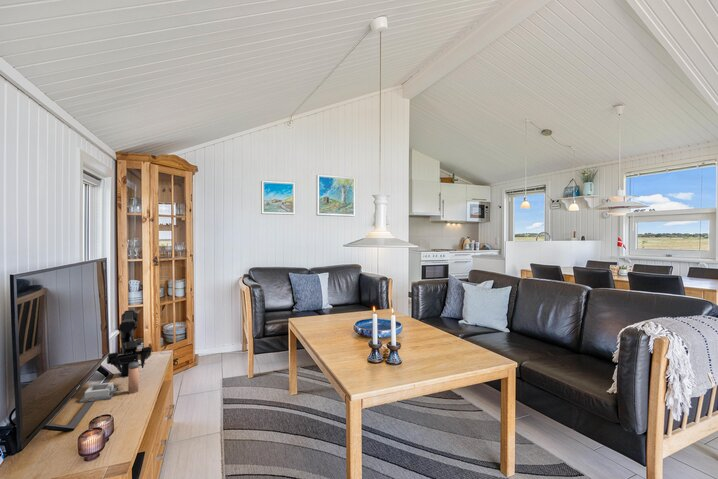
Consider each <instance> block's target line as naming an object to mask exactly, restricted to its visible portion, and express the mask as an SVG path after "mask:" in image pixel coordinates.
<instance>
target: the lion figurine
mask: <svg viewBox="0 0 718 479" xmlns="http://www.w3.org/2000/svg"><path fill="white" fill-rule="evenodd" d="M152 354H153V351H151V354H150V356H148V357H147V358H145V361H144V365H145V364H146V360H148V359H149V358H151V356H152ZM138 361H141V355H138Z"/></svg>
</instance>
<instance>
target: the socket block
mask: <svg viewBox="0 0 718 479" xmlns="http://www.w3.org/2000/svg"><path fill="white" fill-rule="evenodd" d="M114 384H115V383H114V381H112V382H111V381H110V382H104V383H95V384H94V383H93V384H90V385H89V387H88V388H87V389H86V390H85V391H84V395H83V396H82V397H81V399H80V400H79V404H83V403H84V402H85V403H87V402H86V401H87V400H88V399H89V398H91V397H94V398H95V399H94V400H95V401H94V402H100V401H107V400H112V398H113V397H114V395H115V394H116V393H117V390H118V389H119V386H115V385H114Z"/></svg>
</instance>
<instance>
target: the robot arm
mask: <svg viewBox="0 0 718 479" xmlns="http://www.w3.org/2000/svg"><path fill="white" fill-rule="evenodd" d="M138 322H139V313H137V312H136V311H135V310H133V309H131V310H124V312H123V313H122V314H121V318H120V323H119V325H118V330H117V331H118V332H119V336H120V337H119V338H120V344H121V347H120V350H119V353H118V351H116V352H111V353H108V354H107V358H106V363H107V364H108V365H113V367H115V368H116V369H117V370H118V372H119V373H118V376H120V377H122V378H128V374H129V363H132V362H139V360H138V355H141V360H140V366H141V368H142V369H144V365H145V364H144V361H145V362H146V360H145V358H147V357H148V356H150V354H151V351H152V346H143V347H142V348H141V349H140V350H138V347H139V346H142V339H141V338H136V339H135V338H134V332H135V331H136V330H137V329H138ZM152 352H153V351H152ZM151 355H152V354H151ZM150 357H151V356H150Z"/></svg>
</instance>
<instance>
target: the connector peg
mask: <svg viewBox="0 0 718 479" xmlns="http://www.w3.org/2000/svg"><path fill="white" fill-rule="evenodd" d="M139 366H140V364H139V361H138V362H132V363H129V374H128V376H127V378H128V380H127V381H128V385H127V392H128V394H136V393H137V392H139V377H140V376H139V375H140V374H139Z"/></svg>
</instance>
